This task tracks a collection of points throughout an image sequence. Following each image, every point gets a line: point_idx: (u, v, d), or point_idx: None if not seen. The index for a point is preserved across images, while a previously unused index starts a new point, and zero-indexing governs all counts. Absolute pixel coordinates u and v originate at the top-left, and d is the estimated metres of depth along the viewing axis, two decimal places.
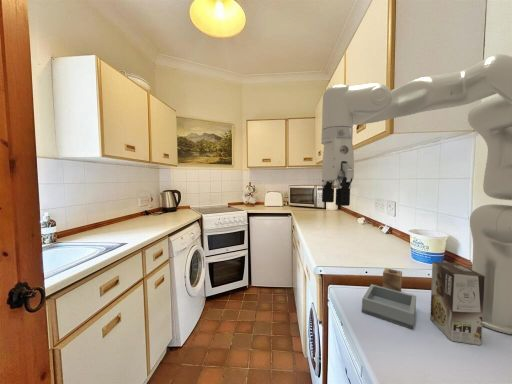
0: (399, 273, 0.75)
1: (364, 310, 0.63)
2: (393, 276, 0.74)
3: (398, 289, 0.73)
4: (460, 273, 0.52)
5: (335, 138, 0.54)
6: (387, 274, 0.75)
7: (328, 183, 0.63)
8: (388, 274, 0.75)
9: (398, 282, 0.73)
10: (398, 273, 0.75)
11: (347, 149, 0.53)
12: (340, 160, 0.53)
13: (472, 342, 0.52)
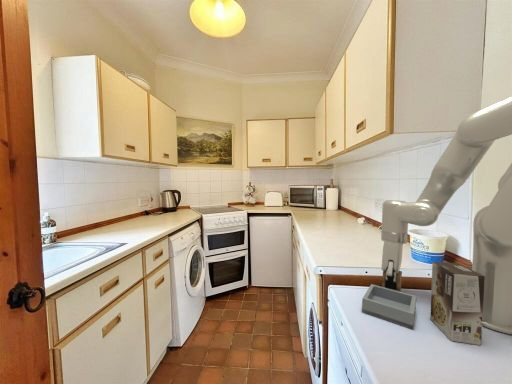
0: (399, 273, 0.75)
1: (364, 310, 0.63)
2: None
3: (398, 289, 0.73)
4: (460, 273, 0.52)
5: None
6: None
7: None
8: None
9: (398, 282, 0.73)
10: (398, 272, 0.75)
11: None
12: None
13: (472, 342, 0.52)
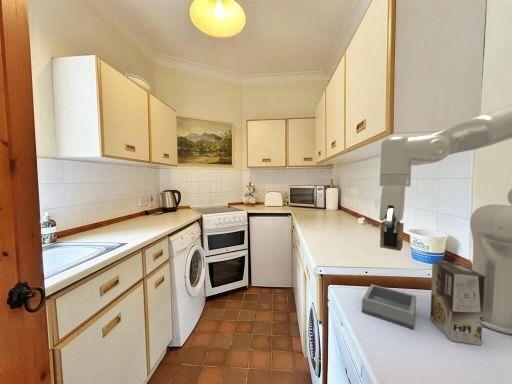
0: (400, 224, 0.63)
1: (364, 310, 0.63)
2: None
3: (399, 241, 0.61)
4: (460, 273, 0.52)
5: None
6: None
7: None
8: None
9: (399, 233, 0.61)
10: (399, 223, 0.63)
11: None
12: None
13: (472, 342, 0.52)
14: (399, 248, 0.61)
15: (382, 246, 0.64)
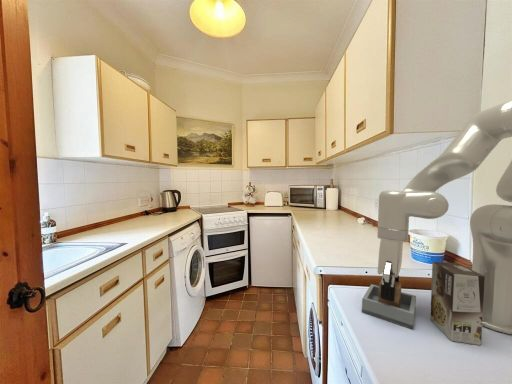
0: (398, 285, 0.63)
1: (364, 310, 0.63)
2: None
3: (397, 305, 0.62)
4: (460, 273, 0.52)
5: None
6: None
7: None
8: None
9: (397, 296, 0.61)
10: (397, 285, 0.64)
11: None
12: None
13: (472, 342, 0.52)
14: None
15: None
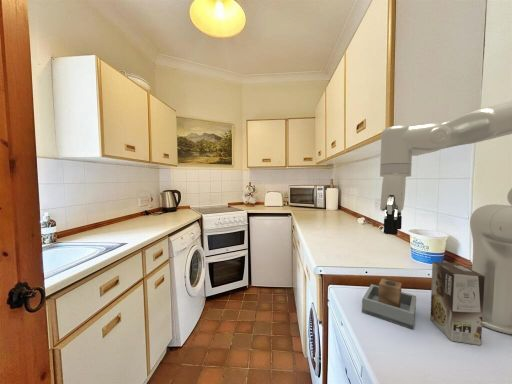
0: (398, 285, 0.63)
1: (364, 310, 0.63)
2: (391, 289, 0.62)
3: (397, 305, 0.62)
4: (460, 273, 0.52)
5: None
6: (383, 287, 0.63)
7: None
8: (385, 286, 0.63)
9: (397, 296, 0.61)
10: (397, 285, 0.64)
11: None
12: None
13: (472, 342, 0.52)
14: None
15: None
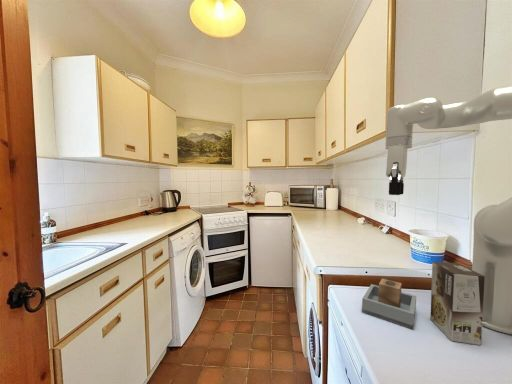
0: (398, 285, 0.63)
1: (364, 310, 0.63)
2: (391, 289, 0.62)
3: (397, 305, 0.62)
4: (460, 273, 0.52)
5: None
6: (383, 287, 0.63)
7: None
8: (385, 286, 0.63)
9: (397, 296, 0.61)
10: (397, 285, 0.64)
11: None
12: None
13: (472, 342, 0.52)
14: None
15: None
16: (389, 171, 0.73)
